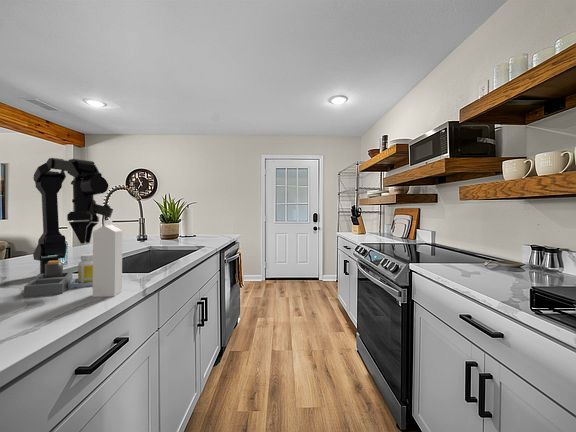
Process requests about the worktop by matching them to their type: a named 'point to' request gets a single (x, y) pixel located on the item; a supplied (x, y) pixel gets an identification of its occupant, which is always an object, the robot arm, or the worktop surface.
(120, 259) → the milk
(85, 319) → the worktop surface
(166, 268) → the worktop surface
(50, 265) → the shallow grey tray
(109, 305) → the worktop surface
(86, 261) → the supplement bottle
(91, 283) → the tray frame
